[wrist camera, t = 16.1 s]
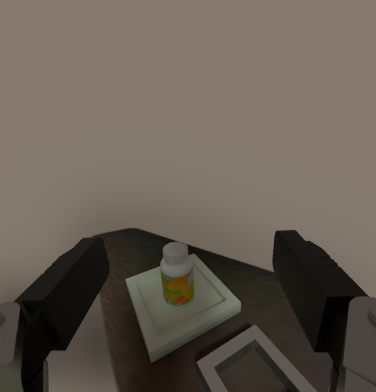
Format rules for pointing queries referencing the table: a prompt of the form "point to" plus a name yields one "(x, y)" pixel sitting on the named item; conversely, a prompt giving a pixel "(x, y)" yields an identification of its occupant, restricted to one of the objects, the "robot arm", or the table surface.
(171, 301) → the supplement bottle
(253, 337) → the gray square frame
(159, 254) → the table surface
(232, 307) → the sage tray
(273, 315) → the table surface
